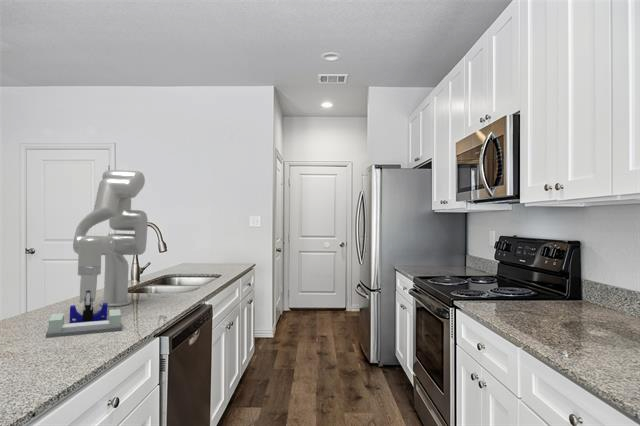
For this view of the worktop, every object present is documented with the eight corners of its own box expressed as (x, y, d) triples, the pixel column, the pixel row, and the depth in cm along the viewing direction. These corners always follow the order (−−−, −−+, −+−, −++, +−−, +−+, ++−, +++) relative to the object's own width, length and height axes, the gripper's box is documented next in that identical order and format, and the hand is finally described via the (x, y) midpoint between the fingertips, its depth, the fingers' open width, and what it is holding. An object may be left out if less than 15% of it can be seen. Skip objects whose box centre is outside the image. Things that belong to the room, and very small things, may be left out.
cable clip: (106, 317, 155) (107, 302, 155) (106, 320, 151) (107, 304, 151) (70, 320, 149) (70, 304, 149) (69, 323, 145) (70, 307, 145)
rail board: (50, 328, 139) (50, 313, 139) (120, 322, 149) (121, 308, 150) (45, 337, 128) (46, 321, 129) (122, 330, 139) (122, 315, 139)
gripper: (79, 268, 156) (77, 314, 156) (76, 274, 141) (74, 326, 141) (101, 267, 159) (99, 313, 159) (100, 273, 144) (99, 324, 144)
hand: (87, 318), depth 150 cm, fingers closed on cable clip, 4 cm apart
